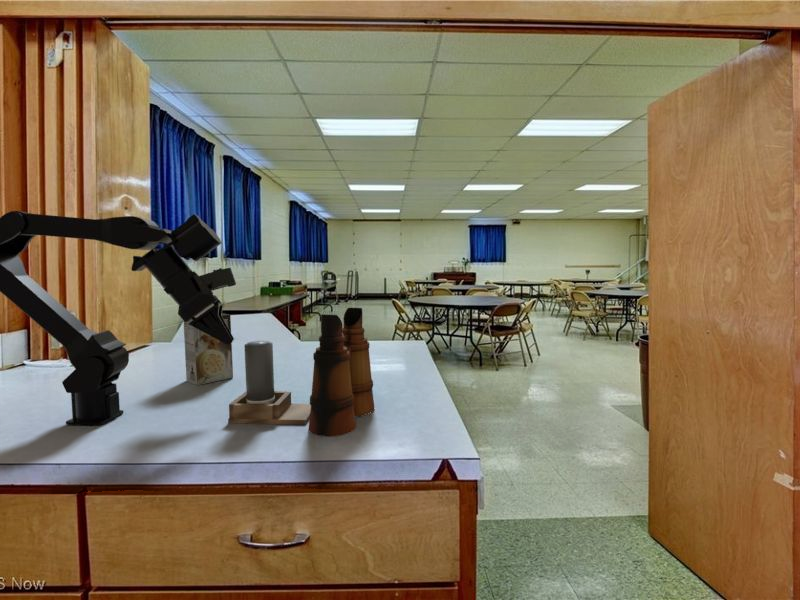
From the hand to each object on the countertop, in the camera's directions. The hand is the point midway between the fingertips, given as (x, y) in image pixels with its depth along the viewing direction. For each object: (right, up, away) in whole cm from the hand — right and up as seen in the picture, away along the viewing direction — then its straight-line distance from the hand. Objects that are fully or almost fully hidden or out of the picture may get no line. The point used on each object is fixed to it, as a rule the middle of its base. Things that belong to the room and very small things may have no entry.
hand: (231, 342), depth 83 cm
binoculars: (+22, -14, -2) cm, 26 cm away
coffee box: (-15, -12, +25) cm, 31 cm away
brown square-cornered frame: (+8, -14, -1) cm, 16 cm away
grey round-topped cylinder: (+6, -13, -1) cm, 14 cm away
